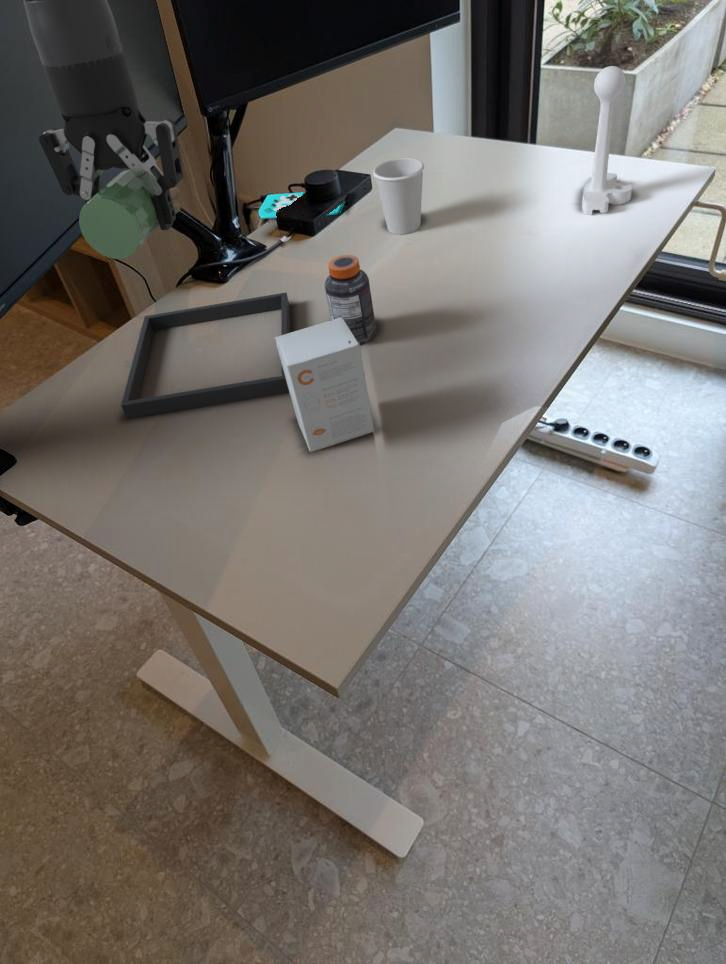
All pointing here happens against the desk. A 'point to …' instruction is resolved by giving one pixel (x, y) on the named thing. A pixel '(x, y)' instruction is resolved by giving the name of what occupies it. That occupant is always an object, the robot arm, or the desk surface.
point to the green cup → (119, 217)
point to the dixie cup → (400, 193)
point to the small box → (326, 383)
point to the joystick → (605, 148)
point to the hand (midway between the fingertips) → (137, 228)
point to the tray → (207, 395)
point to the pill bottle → (350, 297)
